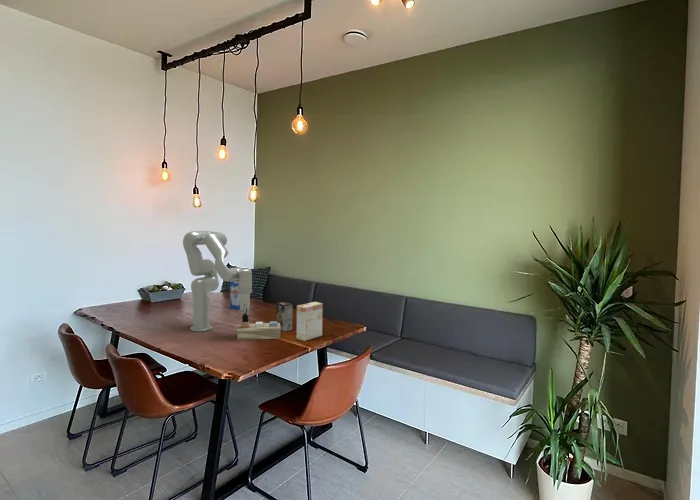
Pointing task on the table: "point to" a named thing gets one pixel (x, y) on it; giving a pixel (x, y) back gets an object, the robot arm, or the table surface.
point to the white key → (259, 324)
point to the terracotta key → (245, 325)
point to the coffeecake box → (309, 321)
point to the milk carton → (234, 296)
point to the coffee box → (284, 315)
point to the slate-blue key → (273, 324)
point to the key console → (258, 332)
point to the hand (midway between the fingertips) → (245, 321)
